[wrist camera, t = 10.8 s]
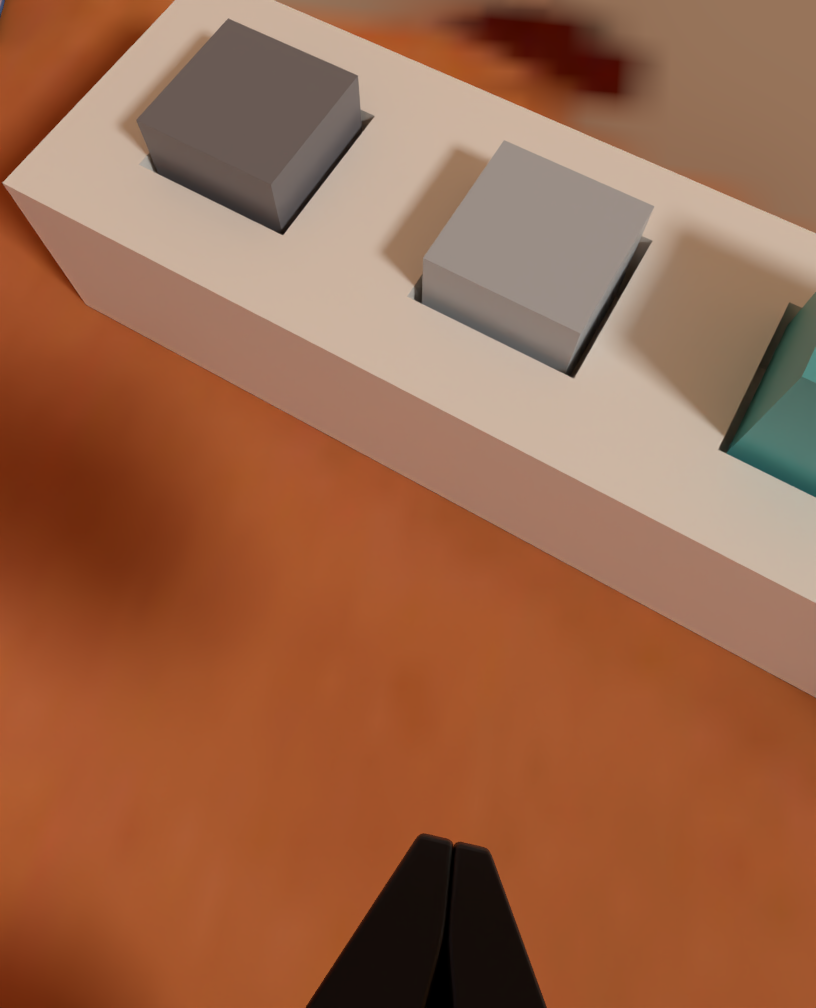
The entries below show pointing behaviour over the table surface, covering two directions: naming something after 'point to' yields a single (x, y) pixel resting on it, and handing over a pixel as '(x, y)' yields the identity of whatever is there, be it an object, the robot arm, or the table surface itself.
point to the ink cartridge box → (1, 6)
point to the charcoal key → (253, 124)
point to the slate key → (534, 256)
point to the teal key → (785, 409)
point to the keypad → (466, 328)
